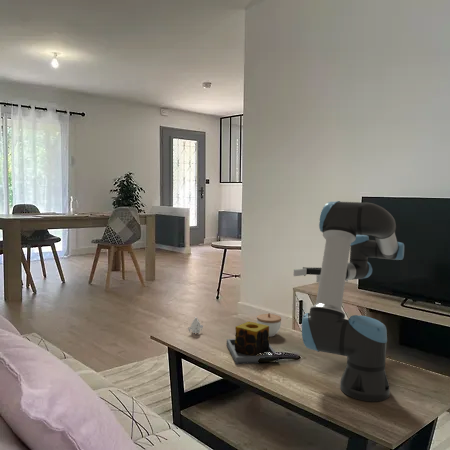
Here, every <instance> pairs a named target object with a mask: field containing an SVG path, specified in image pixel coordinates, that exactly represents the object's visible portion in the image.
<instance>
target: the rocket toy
mask: <svg viewBox="0 0 450 450" xmlns="http://www.w3.org/2000/svg"><path fill="white" fill-rule="evenodd" d="M187 328H188V332H189V335H190V334H191V332H192V333H193V334H194V333H198V334H200V333H201V332H202V331H203V329H204V325H203V324H201V322H200V321H199V319H198V317H197V316H195V317H194V319H193V320H192V322H191V323H190V326H189V327H187Z"/></svg>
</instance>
